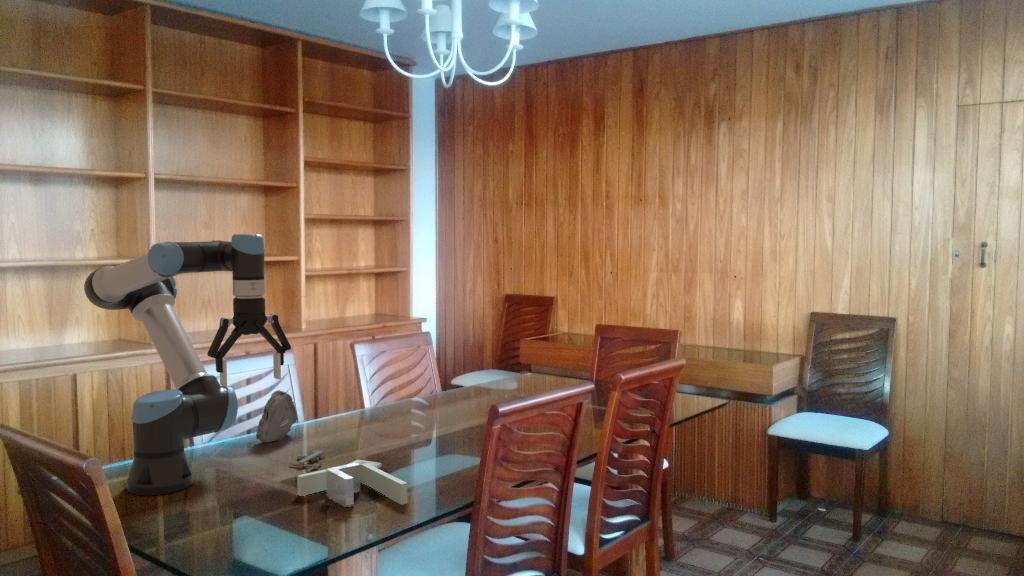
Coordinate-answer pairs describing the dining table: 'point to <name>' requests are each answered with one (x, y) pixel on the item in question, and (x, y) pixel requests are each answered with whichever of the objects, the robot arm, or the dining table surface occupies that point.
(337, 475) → the bracket
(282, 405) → the decorative rock
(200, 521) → the dining table surface
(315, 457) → the clamp
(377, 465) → the hard drive
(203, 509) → the dining table surface
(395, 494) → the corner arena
